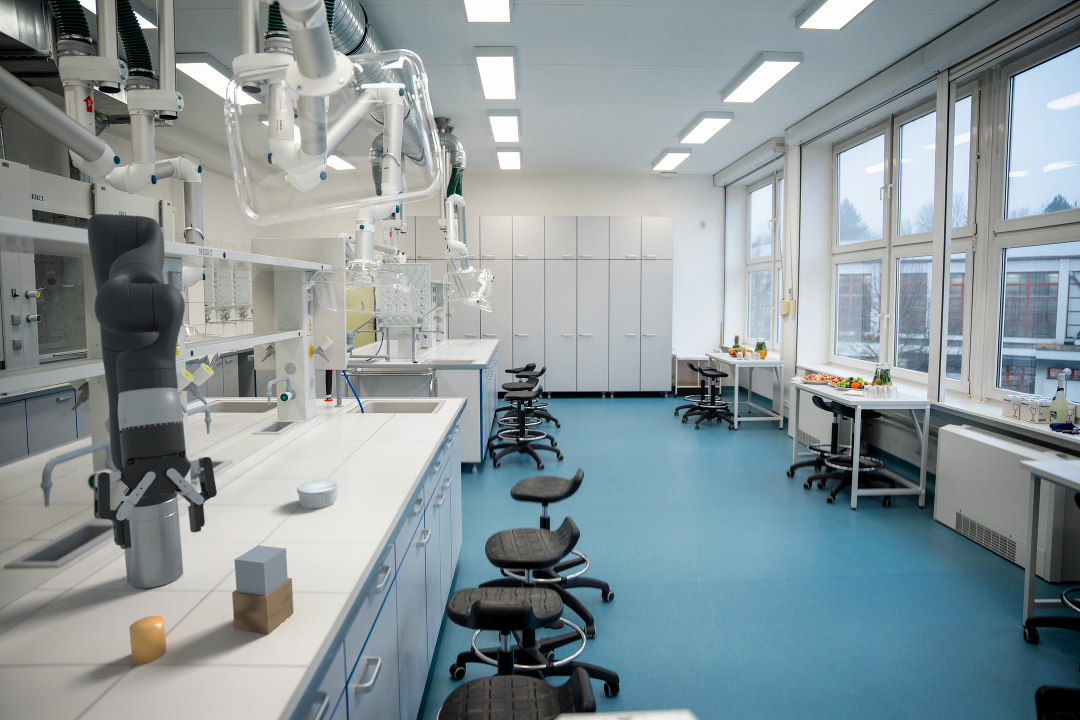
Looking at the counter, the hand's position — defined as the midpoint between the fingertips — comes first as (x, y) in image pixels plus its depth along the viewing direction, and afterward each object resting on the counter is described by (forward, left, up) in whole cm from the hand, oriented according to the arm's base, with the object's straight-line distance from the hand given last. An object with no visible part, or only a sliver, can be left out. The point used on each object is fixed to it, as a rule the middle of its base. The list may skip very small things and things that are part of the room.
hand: (162, 539), depth 82 cm
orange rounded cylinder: (-16, +11, -26) cm, 32 cm away
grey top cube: (-4, +24, -19) cm, 31 cm away
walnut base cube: (-4, +24, -26) cm, 35 cm away
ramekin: (-30, +80, -26) cm, 89 cm away
